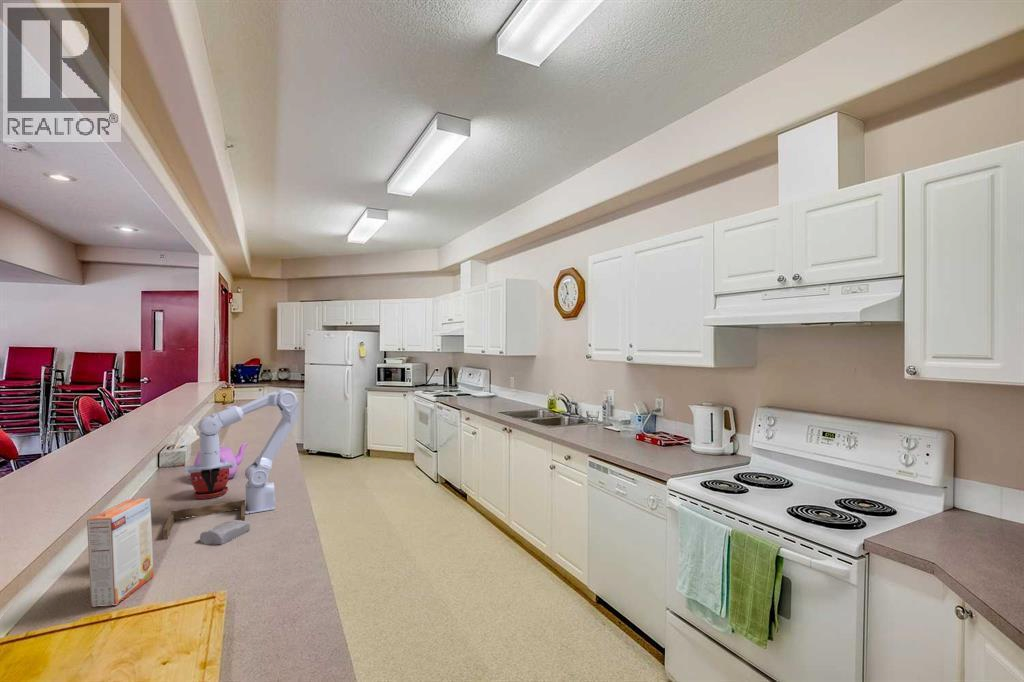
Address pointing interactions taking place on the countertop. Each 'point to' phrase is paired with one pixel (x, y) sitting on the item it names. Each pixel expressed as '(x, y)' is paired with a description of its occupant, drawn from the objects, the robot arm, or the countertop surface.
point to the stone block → (224, 532)
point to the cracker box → (120, 551)
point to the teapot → (227, 458)
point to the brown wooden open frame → (203, 513)
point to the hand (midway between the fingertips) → (211, 491)
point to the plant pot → (218, 486)
